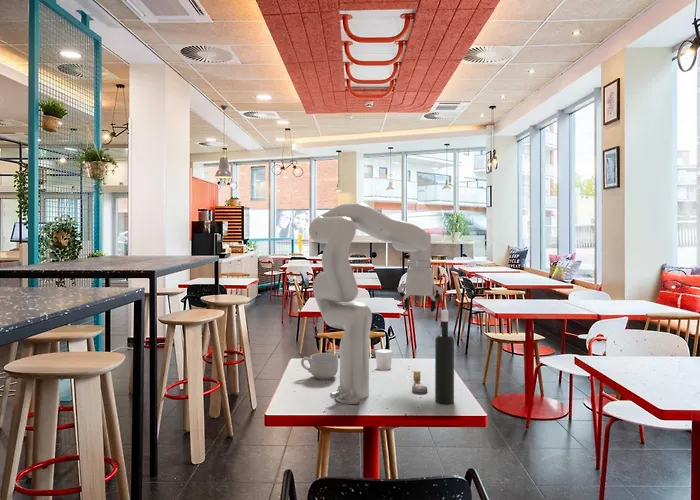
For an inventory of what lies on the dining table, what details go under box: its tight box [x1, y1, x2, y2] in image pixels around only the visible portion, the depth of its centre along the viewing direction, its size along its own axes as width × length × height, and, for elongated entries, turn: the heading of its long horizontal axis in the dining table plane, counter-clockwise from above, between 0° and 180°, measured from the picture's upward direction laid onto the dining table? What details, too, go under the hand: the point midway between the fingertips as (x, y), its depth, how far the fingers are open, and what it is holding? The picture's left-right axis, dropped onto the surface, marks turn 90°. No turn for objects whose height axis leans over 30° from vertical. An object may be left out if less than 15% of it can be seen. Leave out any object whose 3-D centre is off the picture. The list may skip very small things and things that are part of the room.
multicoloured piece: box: [411, 370, 428, 395], centre depth 172 cm, size 13×5×4 cm, turn 178°
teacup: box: [300, 352, 339, 381], centre depth 190 cm, size 14×11×8 cm
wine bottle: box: [434, 309, 455, 406], centre depth 158 cm, size 6×6×30 cm
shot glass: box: [374, 348, 393, 371], centre depth 203 cm, size 7×7×7 cm
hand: (419, 310), depth 189 cm, fingers open, 9 cm apart
